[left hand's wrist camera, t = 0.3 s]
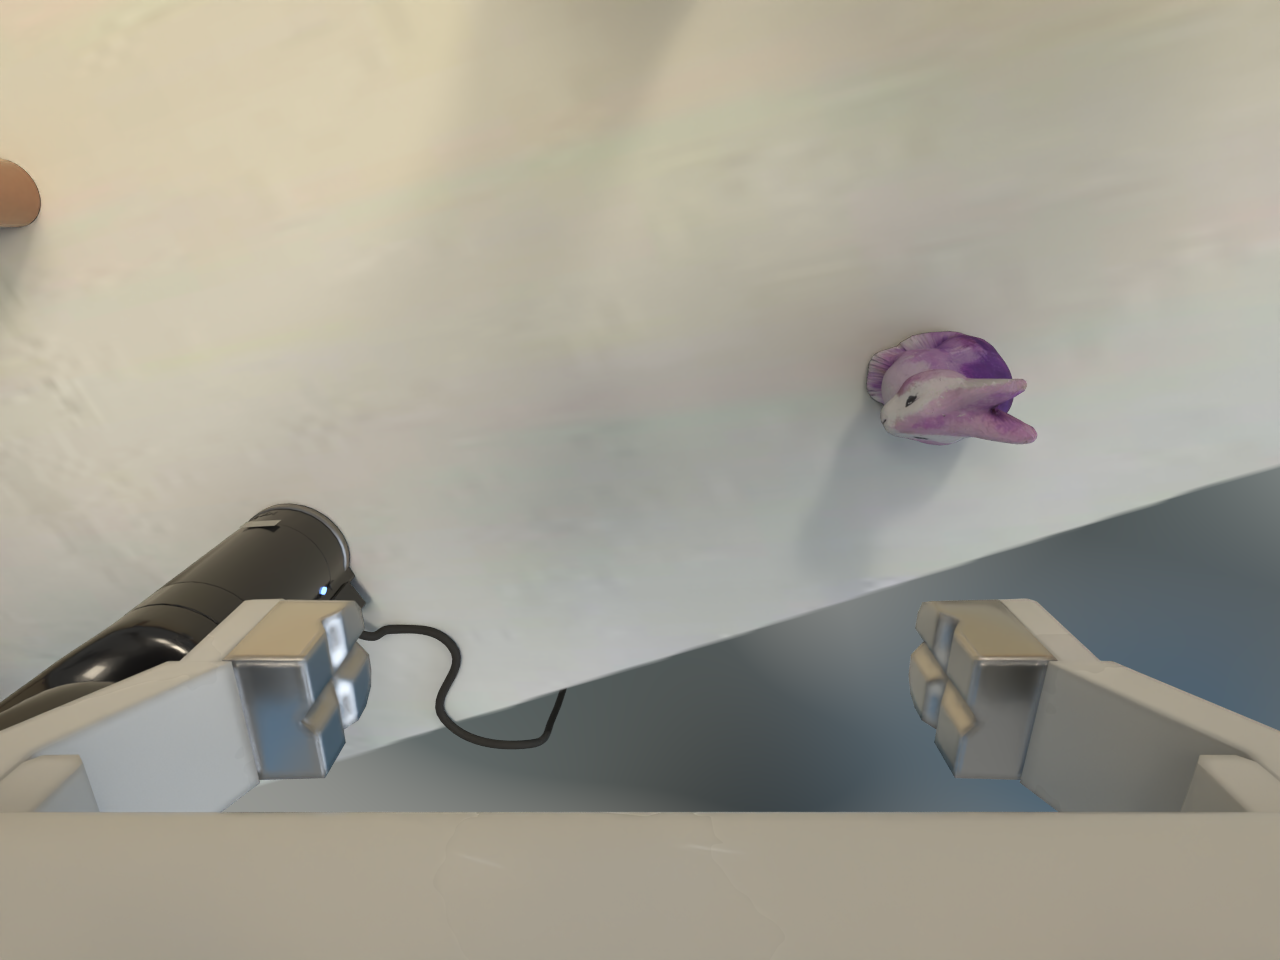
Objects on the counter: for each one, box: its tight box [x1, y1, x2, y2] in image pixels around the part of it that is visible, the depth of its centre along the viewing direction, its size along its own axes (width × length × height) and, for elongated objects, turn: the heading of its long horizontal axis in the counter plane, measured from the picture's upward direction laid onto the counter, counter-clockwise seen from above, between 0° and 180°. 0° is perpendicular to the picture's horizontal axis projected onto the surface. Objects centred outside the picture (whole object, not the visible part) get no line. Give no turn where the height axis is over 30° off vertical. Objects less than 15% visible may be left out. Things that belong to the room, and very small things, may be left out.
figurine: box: [867, 331, 1037, 445], centre depth 50 cm, size 9×10×15 cm
